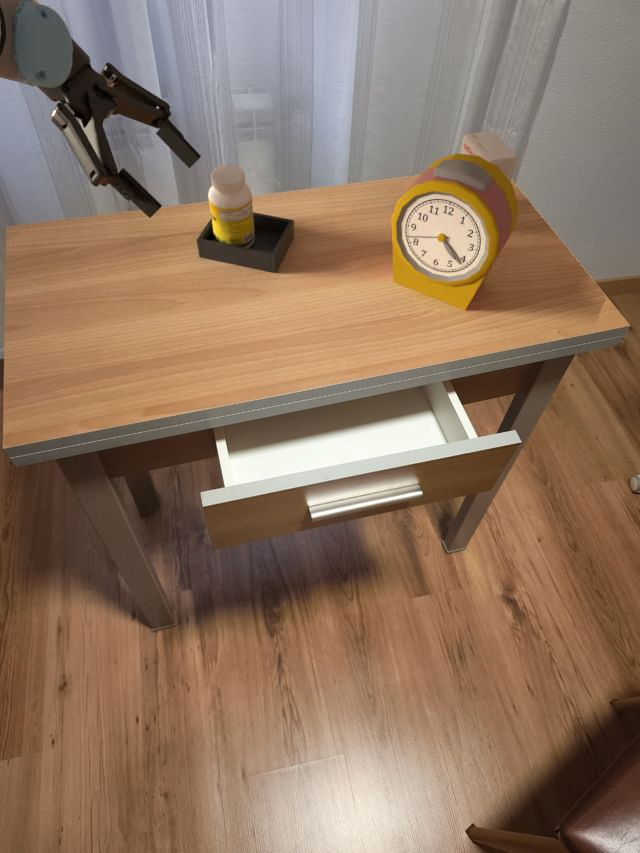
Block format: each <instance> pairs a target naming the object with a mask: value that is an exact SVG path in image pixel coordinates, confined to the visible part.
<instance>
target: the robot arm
mask: <svg viewBox="0 0 640 853" xmlns="http://www.w3.org/2000/svg"><path fill="white" fill-rule="evenodd" d="M91 62H92V60H91V57H90V56H89V54H88V53H87V52H86V51H85V50H84V49H83V48H82V46H80V45H79V44H78V43H77V42H76V40H74V39H73V38H72V37H71V34H70V31H69V28H68V26H67V23H66V22H65V20H64V19H63V18H62V17H61V15H60V14H59V13H58V12H57V11H56V10H54V8H52V7H50V6H48V5H46V4H45V5H44V4H41V3H40V2H38V0H0V78H1V79H5V80H9V81H12V82H17V83H21V84H23V85H24V84H25V85H28V86H31V87H37V88H38V90H40V91H41V92H42V93H43V94H44V96H46V97H47V98H48V99H49V100H50V101H52V102H53V103H56V102H57V104H56V105H55V107H54V108H53V110H52V111H51V113H50V115H49V119H50V121H51V122H52V123H53V124H54V126H56V127H57V129H58V130H59V131H60V132H61V133H62V135H63V137H64V138H65V140H66V143H67V144H68V145H69V147H70V149H71V151H72V152H73V154H74V156H75V158H76V159H77V161H78V163H79V165H80V166H81V169H82V170H83V171H84V174H85V175H86V177H87V179H88V181H89V182H90V184H91V185H92V186H93V187H95V188H96V187H99V186H102V187H108V185H110V186H111V187H112V188H113V189H114V190H115V191H117V193H119V195H121V196H122V197H123V198H124V199H125V200H127V201H128V202H130V201H131V202H132V203H133V204H134V205H135V206H136V207H138V209H139V210H140V211H141V212H142V213H143V214H144V215H145V216H146V217H148V218H149V219H151V218H152V217H153V216H154V215H155V214H156V213H157V212H158V211H159V210H160V209H161V208H162V206H163V204H161V203H160V201H158V199H156V198H155V197H154V196H153V195H152V194H151V193H150V192H149V191H148V190H147V189H146V188H145V187H144V186H143V185H142V184H140V182H138V180H137V179H136V178H135V177H133V176H132V174H130V173H129V172H128V171H127V169H126V168H124V167H122V169H120V170H119V169H118V166H117V163H116V160H115V157H114V155H113V151H112V149H111V148H112V147H111V145H110V143H109V140H108V137H107V134H106V131H105V127H104V122H105V120H107V119H109V118H110V117H111V116H116V115H120V116H123V117H125V118H127V119H131V120H134V121H136V122H139V123H140V124H141V123H142V124H144V125H147V126H149V127H152V128H155V129H158V130H157V131H156V132H155V134H156V135H157V137H159V139H160V140H161V141H162V142H163V143H164V144H165V145H166V146H167V147H168V148H169V149H170V150H171V151H172V153H174V154H175V155H176V157H177V158H179V160H180V161H181V162H182V163H184V165H185V166H186V167H187V168H188V169H191V168H192V167H193V166H194V164H196V163H197V162H198V161H199V160H200V158H201V157H202V155H201V154H200V153H199V152H198V151H197V150H196V149H195V148H194V147H193V145H192V144H191V143H189V141H188V140H187V139H186V138H185V136H184V134H183V133H182V132H181V131H180V130H179V129H178V127H176V125H175V124H174V123H173V122H171V120H170V119H169V118H170V117H171V116H172V112H171V106H170V104H169V103H168V102H166V101H165V100H164V99H162V98H160V97H159V96H157V95H156V94H154V93H153V92H151V91H150V90H148V89H146V88H145V87H143V86H142V85H140V84H138V83H137V82H135V81H134V80H132V79H130V78H129V77H127V76H126V75H125V74H123V73H122V72H121V71H119V70H118V68H117V67H116V66H114V65H113V64H112V63H110V62H106V63H105V65H104V66H103V67H102V69H101V70H100V72H98V71H96V70H95V69H94V68H93V66H92V64H91Z"/></svg>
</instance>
